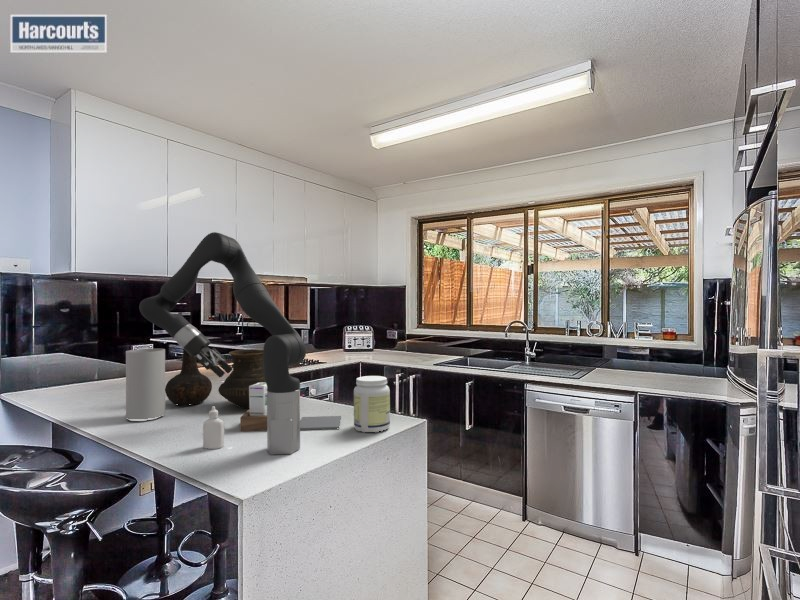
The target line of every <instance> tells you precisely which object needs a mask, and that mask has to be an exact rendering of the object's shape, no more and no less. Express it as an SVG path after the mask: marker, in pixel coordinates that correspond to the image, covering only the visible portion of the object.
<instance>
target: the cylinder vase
mask: <svg viewBox="0 0 800 600" xmlns="http://www.w3.org/2000/svg"><path fill="white" fill-rule="evenodd" d="M165 388H166V349H165V348H138V349H130V350H126V351H125V419H126V418H128V419H148V418H155V417H159V416H162V415H164V414H165V415H166V392H165ZM165 415H164V416H165Z"/></svg>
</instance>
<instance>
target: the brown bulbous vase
mask: <svg viewBox="0 0 800 600" xmlns="http://www.w3.org/2000/svg"><path fill="white" fill-rule="evenodd" d="M182 349H183V348H182ZM197 362H198V360H196V359H195V357H192V356H191V355H189V354H188V353H187V352H186V351H185V350H184V349H183V351H182V362H181V363H182V364H181V369H180V373H178V374H176V375H174V377H172V378H170V379H169V380H168V381H167V383H165V396H166V397H167V399H168V400H169V401H170V402H171V403H173V404H174V405H176V404H178V405H177V406H179V405H189V404H195V405H197V404H196V403H198V404H200V402H201V403H203V402H204V401H206V399H207V398H208V397H209V396H210V394H211V393H212V390H213V389H212V388H213V385H212V381H211V379H210V377H208V376H206V375H205V374H203V373H201V372H200V370H199V367H198V366H199V365H198V363H197ZM189 406H190V405H189Z"/></svg>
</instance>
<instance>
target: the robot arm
mask: <svg viewBox="0 0 800 600" xmlns="http://www.w3.org/2000/svg"><path fill="white" fill-rule="evenodd" d="M210 262H213V263H218V264H221V265H223V266H224V267H225V268H226V269H227V271H228V272H229V274H230V275H231V277H232V279H233V285H232V288H233V289H232V291H233V296H234V298H235V299H236V301H237V304H238V306H240V308H241V310H242V311H243V312H244V314H245V315H246V316H248V317H249V318H250V319H252V320H253V321H254V322H255V323H257V324H258V325H260V326H262V328H264V329H266V331H268V332H269V334H271V336H269V337H268V338H267V339H266V340H265V342H264V345H263V349H262V350H263V362H264V378H265V382H266V384H267V430H266V433H267V434H266V435H267V436H266V437H267V438H266V439H267V440H266V441H267V443H266V446H267V447H266V449H267V452H268V453H269V455H291V454H293V453H294V452H298V450H300V448H301V430H300V420H301V382H300V379H299V378H297V377H294V376H292V375H291V374H290V371H289V367H290V366H293V365H298V364H300V363H302V362H303V361H304V360H305V358H306V356H307V347H306V344H305V342H304V339H303V338H302V337H301V336H300V334H299V332H298V331H297V330H296V329H295V328H294V326H293V325H292V324H291V323H290V322H289V320H287V318H286V317H285V315H284V313H282V311H281V310H280V308H279V307H278V304H276V303H275V301H274V299H273V298H272V297H271V295H270V293H269V291H268V290H267V288H266V287H265V285H264V284H263V283H262V281H261V279H260V278H259V277H258V275H257V273H256V271H255V270H254V269H253V267H252V266H251V264H250V262H249V261H248V259H247V256H246V254H245V252H244V250H243V249H242V247H241V245H240V243H239V242H238V241H237V240H236V239H235V238H233V237H231V236H228V235H225V234H223V233H220V232H217V231H215V232H214V231H213V232H210V233H208V234H207V235H205V236H204V238H203V239H202V240H200V242H199V244H197V246H196V247H195V249H194V250H193V252H192V253H191V254H190V255H189V257H188V258H187V259H186V261H184V264H183V265H182V266H181V267H180V268H179V269H178V271H176V273H174V274H173V275H172V277H170V278H169V279H168V280H167V281H166V282H165V283H164V284H163V285H162V286H161V287H160V292H159V293H158V294H157V295H153V296H150V297H147V298H144V299H142V300H141V301H140V303H139V305H138V308H139V312H140V314H141V315H142V316H143V318H144V319H146V320H147V321H149V323H152V324H153V325H156V326H157V327H158V328H161V329H163V330H164V331H165V332H166V333H167V334H168V335H170V337H171V338H172V339H174V341H176V343H177V344H178V345H179V346H180V347H181V348H182V349H184V350H185V351H186V352H187V353H188V354H189V355H191V356H192V357H195V359H196V361H197V362H198V363H199V364H201V366H203V368H204V369H205V370H206V371H207V370H210V371H212V372H213V373H214V374H215V375H216V376H217V377H218V378H222V377H223V376H224V375H225V374H226V373H227V374H231V372H232V371H233V366H232V367H231V366H230V364H229V363H227V361H226V359H227V358H226V357H225V356H224V355H223V354H221V352H219V351H218V350H217V349H216V348H215V347H212V349H211V348H210V347H209V346H210V345H211V341H210V340H209V339H208V338H207V337H206V336H205V335H204V334H203V333H202V332H201V331H200V330H198V328H197V327H195V326H194V325H192V324H191V323H190V321H188V320H187V319H186V318H185V317H184V315H182V314H179V313H171V311H172V310H174V308H175V307H176V306H177V304H178V303H179V302H180V300H181V299H182V298H184V297H185V296H186V295H187V294H188V293H189V292H190V291H191V290H192V289H193V288H194V287H195V285H196V282H197V279H198V276H199V273H200V271H201V270H202V268H203V267H204V266H205V265H207V264H208V263H210Z"/></svg>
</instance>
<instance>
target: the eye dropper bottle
mask: <svg viewBox="0 0 800 600" xmlns="http://www.w3.org/2000/svg"><path fill="white" fill-rule="evenodd" d="M202 424H203V425H202V432H203V433H202V447H203V449H207V448H208V449H209V450H218V449H222V447H224V445H225V423H224V420H222V419H221V418H219V411H218V409H216V407H215V406H211V410H209V411H208V419H206V420H205V421H203V423H202ZM208 449H207V450H208Z"/></svg>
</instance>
